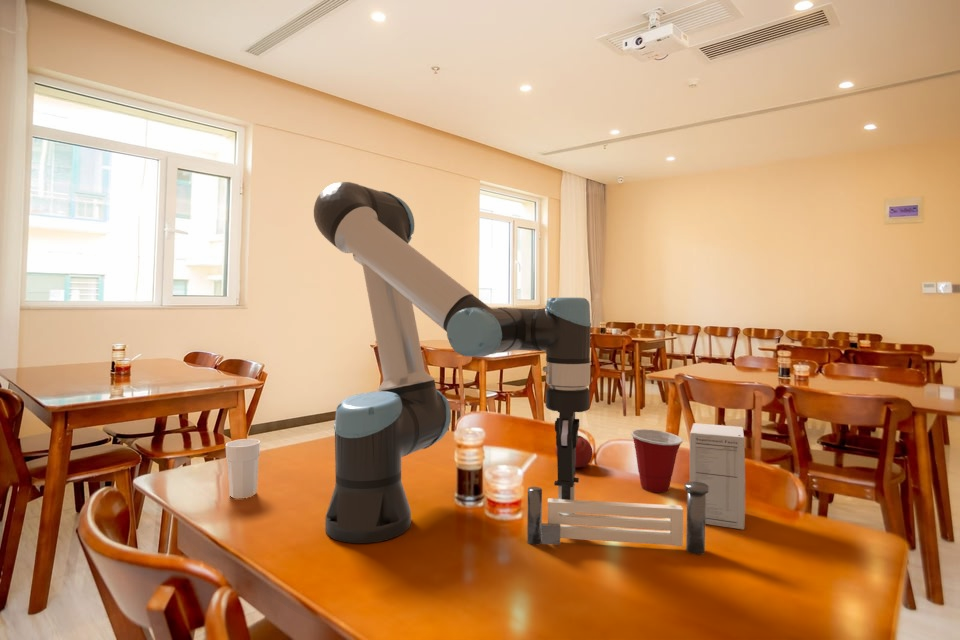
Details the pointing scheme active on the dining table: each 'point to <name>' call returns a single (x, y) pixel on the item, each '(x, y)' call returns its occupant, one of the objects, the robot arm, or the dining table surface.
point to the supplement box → (720, 472)
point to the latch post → (539, 521)
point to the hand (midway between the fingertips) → (566, 521)
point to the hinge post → (696, 517)
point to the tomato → (582, 452)
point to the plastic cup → (655, 458)
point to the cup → (242, 467)
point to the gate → (618, 521)
